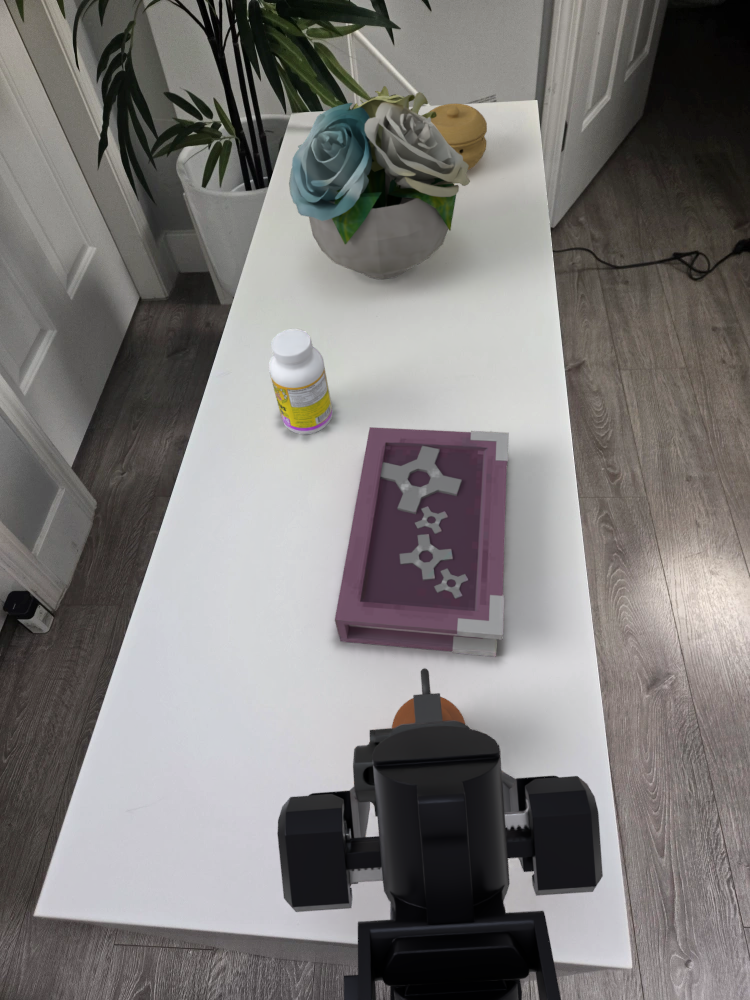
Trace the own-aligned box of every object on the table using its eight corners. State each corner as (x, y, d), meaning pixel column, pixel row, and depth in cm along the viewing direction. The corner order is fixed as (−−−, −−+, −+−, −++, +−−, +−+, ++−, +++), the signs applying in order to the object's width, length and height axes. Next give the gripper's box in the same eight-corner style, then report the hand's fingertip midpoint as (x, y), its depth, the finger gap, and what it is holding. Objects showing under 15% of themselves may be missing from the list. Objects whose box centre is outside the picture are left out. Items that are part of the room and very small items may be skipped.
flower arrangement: (470, 311, 102) (477, 142, 82) (298, 319, 104) (264, 155, 84) (461, 213, 116) (466, 49, 97) (311, 221, 118) (285, 62, 99)
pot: (429, 189, 121) (428, 130, 113) (411, 155, 128) (409, 98, 120) (494, 175, 122) (498, 116, 114) (473, 143, 129) (475, 85, 121)
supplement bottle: (281, 402, 94) (262, 326, 83) (331, 395, 94) (317, 318, 84) (283, 440, 90) (262, 365, 80) (335, 433, 90) (321, 357, 80)
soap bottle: (468, 785, 64) (471, 761, 58) (397, 790, 64) (392, 766, 58) (460, 715, 67) (462, 686, 61) (393, 719, 68) (388, 690, 62)
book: (499, 657, 71) (503, 635, 66) (340, 642, 73) (334, 620, 69) (505, 460, 85) (508, 432, 81) (372, 453, 87) (369, 425, 83)
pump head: (443, 738, 58) (443, 731, 56) (416, 740, 58) (416, 733, 56) (437, 674, 61) (437, 665, 60) (411, 675, 61) (411, 667, 60)
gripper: (626, 753, 34) (553, 659, 50) (245, 781, 35) (290, 680, 51) (640, 971, 35) (564, 811, 51) (267, 995, 36) (305, 830, 51)
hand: (430, 779), depth 51 cm, fingers open, 9 cm apart
